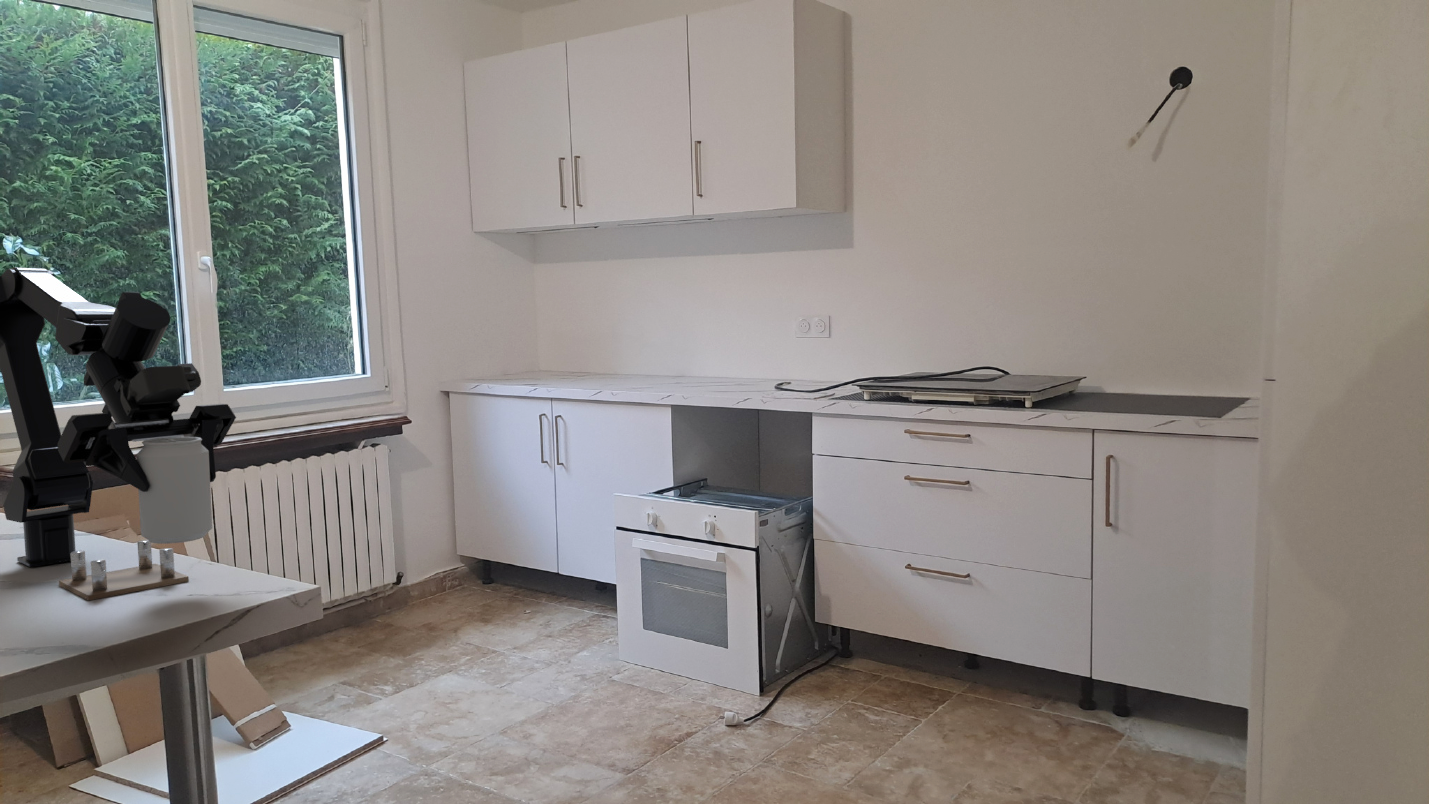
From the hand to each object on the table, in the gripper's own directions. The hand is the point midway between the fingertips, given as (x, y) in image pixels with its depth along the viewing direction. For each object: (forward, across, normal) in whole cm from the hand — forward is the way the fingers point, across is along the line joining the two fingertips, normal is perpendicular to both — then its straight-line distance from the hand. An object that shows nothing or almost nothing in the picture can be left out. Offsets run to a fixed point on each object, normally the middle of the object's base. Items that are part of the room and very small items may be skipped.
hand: (180, 484), depth 115 cm
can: (+4, 0, +6) cm, 7 cm away
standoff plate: (+1, -1, +18) cm, 18 cm away
